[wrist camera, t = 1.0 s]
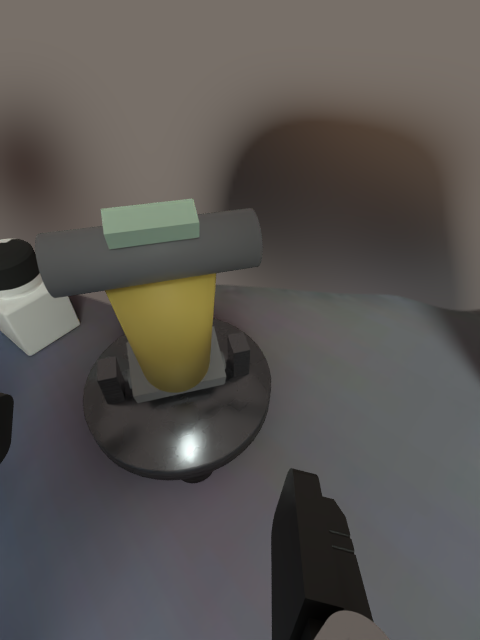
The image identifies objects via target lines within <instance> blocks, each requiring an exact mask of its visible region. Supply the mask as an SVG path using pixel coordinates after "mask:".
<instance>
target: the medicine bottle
mask: <svg viewBox="0 0 480 640" xmlns="http://www.w3.org/2000/svg"><path fill="white" fill-rule="evenodd" d="M79 325H80V321H79V319H78V317H77V314H76V312H75V310H74V307H73V305H72V303H71V300H70V298H69V296H66V297H59V298H53V297H52V296H51V295H50V294H49V292H48V291H47V289H46V287H45V285H44V283H43V281H42V278H41V275H40V272H39V268H38V264H37V259H36V254H35V252H34V250H33V248H32V246H31V245H30V244H29V243H28V242H26V241H23V240H20V239H2V240H0V331H1V332H2V333H4V334H5V335H6V336H7V337H8V338H9V339H10V340H11V341H13V342H14V343H15V344H16V345H17V346H18V347H19V348H20V349H22V350H23V351H24V352H25V353H26V354H27V355H28V356H32V355H34V354H35V353H37V352H38V351H40V350H42V349H43V348H45V347H46V346H48V345H49V344H51V343H52V342H54V341H56V340H57V339H59V338H60V337H62V336H63V335H65V334H67V333H68V332H70V331H71V330H73V329H74V328H76V327H77V326H79Z"/></svg>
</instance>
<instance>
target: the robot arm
mask: <svg viewBox="0 0 480 640" xmlns="http://www.w3.org/2000/svg"><path fill="white" fill-rule="evenodd" d="M13 405H14V401H13V398H12V396H10V395H8V394H4V393H0V463H1V462H2V461H3V459H4V458H5V456H6V454H7V452H8V450H9V447H10V444H11V433H12V419H13ZM271 561H272V640H389V638H388V637H387V636H386V634H385V633H384V632H383V631H382V630H381V629H380V628H379V627H378V626H377V625H376V624H375V623H374V622H373V619H372V615H371V611H370V608H369V604H368V600H367V596H366V593H365V589H364V585H363V581H362V577H361V574H360V570H359V566H358V562H357V559H356V555H354V547H353V543H352V540H351V539H350V532H349V528H348V525H347V521H346V517H345V515H344V514H343V512H342V511H341V509H340V508H339V506H338V505H337V504H336V502H335V501H334V499H330V498H326V497H322V493H321V488H320V483H319V478H318V476H317V475H316V474H312V473H308V472H304V471H300V470H296V469H292V468H290V469H289V471H288V474H287V477H286V480H285V483H284V486H283V489H282V492H281V495H280V499H279V502H278V505H277V508H276V511H275V515H274V519H273V525H272V535H271Z"/></svg>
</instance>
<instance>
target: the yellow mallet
mask: <svg viewBox="0 0 480 640" xmlns="http://www.w3.org/2000/svg"><path fill="white" fill-rule="evenodd" d="M101 215H102V224H103V226H99V227H90V228H82V229H74V230H66V231H58V232H49V233H40V234H38V235H37V237H36V240H35V252H36V259H37V264H38V268H39V272H40V275H41V278H42V281H43V283H44V285H45V287H46V289H47V291H48V292H49V294H50V295H51V296H52V297H53V298H59V297H66V296H72V295H79V294H85V293H91V292H98V291H104V290H105V292H106V294H107V296H108V298H109V300H110V303H111V305H112V307H113V309H114V311H115V313H116V316H117V318H118V320H119V322H120V324H121V326H122V328H123V331H124V333H125V335H126V337H127V339H128V341H129V342H126V344H127V352H128V360H129V368H130V369H127V376H128V382H129V386H130V388H131V389H132V391H133V397H134V399H135V400H136V402H137V403H141V402H146V401H150V400H155V399H160V398H164V397H169V396H173V395H178V394H182V393H187V392H191V391H196V390H201V389H205V388H210V387H214V386H219V385H223V384H225V380H226V373H225V369H226V363H225V358H224V354H223V351H220V348H219V344H218V340H217V336H216V332H215V328H214V326H212V325H213V311H214V297H215V283H216V273H220V272H227V271H233V270H239V269H246V268H252V267H258V266H259V265H260V263H261V259H262V235H261V229H260V225H259V221H258V218H257V215H256V213H255V211H254V210H253V209H252V208H247V209H239V210H231V211H223V212H214V213H207V214H198V215H197V212H196V208H195V204H194V200H193V199H185V200H177V201H169V202H168V201H167V202H158V203H149V204H141V205H132V206H123V207H114V208H105V209H101Z"/></svg>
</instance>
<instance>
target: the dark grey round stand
mask: <svg viewBox="0 0 480 640" xmlns="http://www.w3.org/2000/svg"><path fill="white" fill-rule="evenodd" d="M212 326H214V328H215V332H216V336H217V340H218V344H219V348H220V351H223V354H224V358H225V363H226V369H225V373H226V380H225V384H223V385H219V386H214V387H210V388H205V389H201V390H196V391H191V392H187V393H182V394H178V395H173V396H169V397H164V398H160V399H155V400H150V401H146V402H141V403H137V402H136V400H135V399H134V397H133V391H132V389H131V388H130V386H129V382H128V376H127V369H130V368H129V360H128V352H127V344H126V342H129V341H128V339H127V337H126V335H125V334H124V335H123V336H121V337H120V338H119V339H117V340H116V341H115V342H114V343H112V344H111V345H110V346H109V347H108V348H107V349H106V350H105V351H104V352H103V353H102V355H101V356H100V357H99V358H98V360H97V361H96V363H95V364H94V366H93V368H92V369H91V372H90V374H89V376H88V378H87V381H86V385H85V388H84V396H83V409H84V414H85V419H86V422H87V424H88V427H89V429H90V431H91V433H92V435H93V436H94V438H95V440H96V442H97V443H98V445H99V446H100V448H101V449H102V451H103V452H104V453H105V454H106V455H107V456H108V457H109V458H110V459H111V460H112V461H113V462H115V463H116V464H117V465H118V466H120V467H122V468H123V469H125V470H127V471H129V472H131V473H134V474H137V475H139V476H142V477H147V478H151V479H157V480H183V481H185V482H188V483H198V482H201V481H203V480H205V479H207V478H208V477H209V476H210V475H211V474H212V472H213V471H214V470H216V469H218V468H220V467H222V466H224V465H226V464H227V463H229V462H230V461H232V460H233V459H235V458H236V457H237V456H238V455H240V454H241V453H242V452H243V451H244V450H245V449H246V448H247V447H248V446H249V445H250V444H251V443H252V441H253V440H254V439H255V437H256V436H257V434H258V433H259V431H260V429H261V427H262V425H263V423H264V421H265V418H266V415H267V412H268V407H269V400H270V392H271V376H270V370H269V367H268V364H267V361H266V358H265V357H264V355H263V353H262V351H261V350H260V348H259V347H258V345H257V344H256V343H255V342H254V341H253V340H252V339H251V338H250V337H249V336H248V335H246V334H245V333H244V332H243V331H241V330H239V329H238V328H236V327H234V326H232V325H230V324H228V323H226V322H223V321H220V320H217V319H213V325H212Z"/></svg>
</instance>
